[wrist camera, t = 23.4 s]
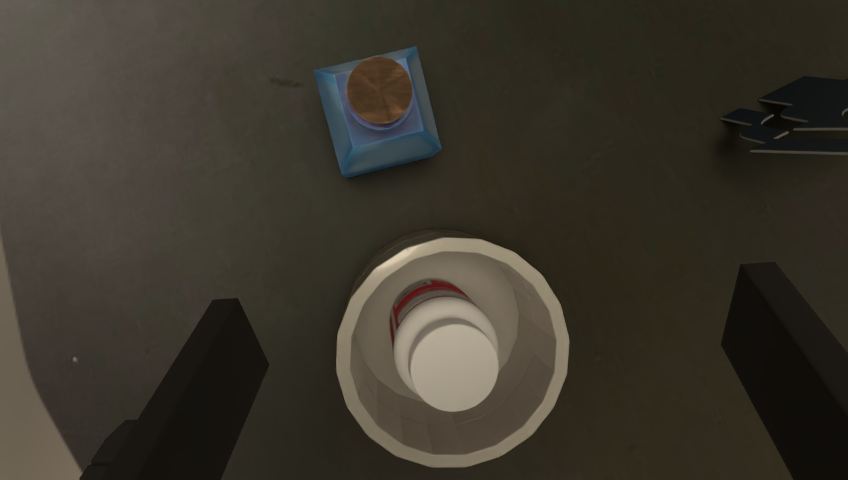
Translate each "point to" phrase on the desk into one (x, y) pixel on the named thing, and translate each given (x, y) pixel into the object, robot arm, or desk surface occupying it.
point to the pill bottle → (443, 345)
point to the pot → (517, 350)
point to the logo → (800, 117)
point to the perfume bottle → (378, 112)
